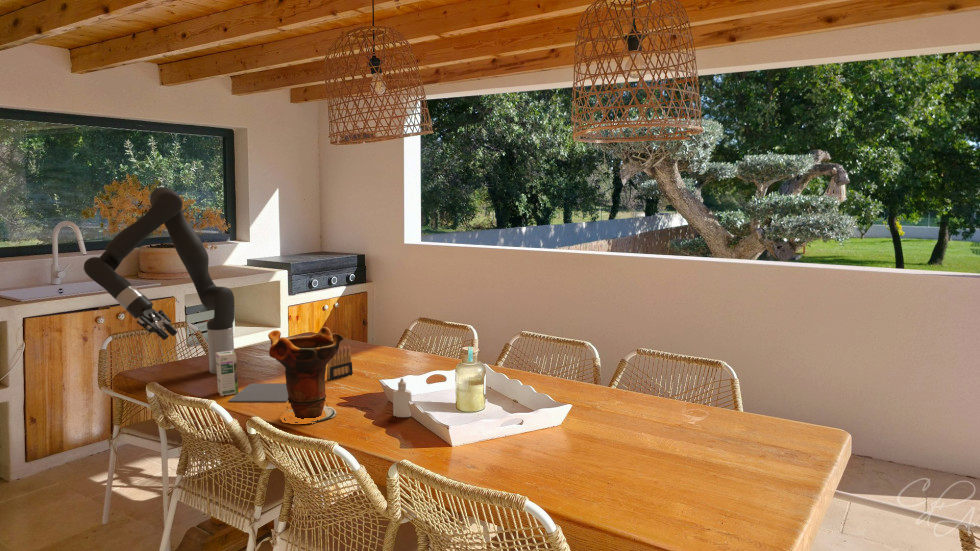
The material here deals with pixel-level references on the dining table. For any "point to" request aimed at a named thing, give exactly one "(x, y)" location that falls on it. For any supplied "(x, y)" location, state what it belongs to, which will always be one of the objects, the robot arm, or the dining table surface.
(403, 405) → the eye dropper bottle
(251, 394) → the mat
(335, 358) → the ammunition clip
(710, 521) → the dining table surface
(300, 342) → the decorative vase
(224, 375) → the syrup box
